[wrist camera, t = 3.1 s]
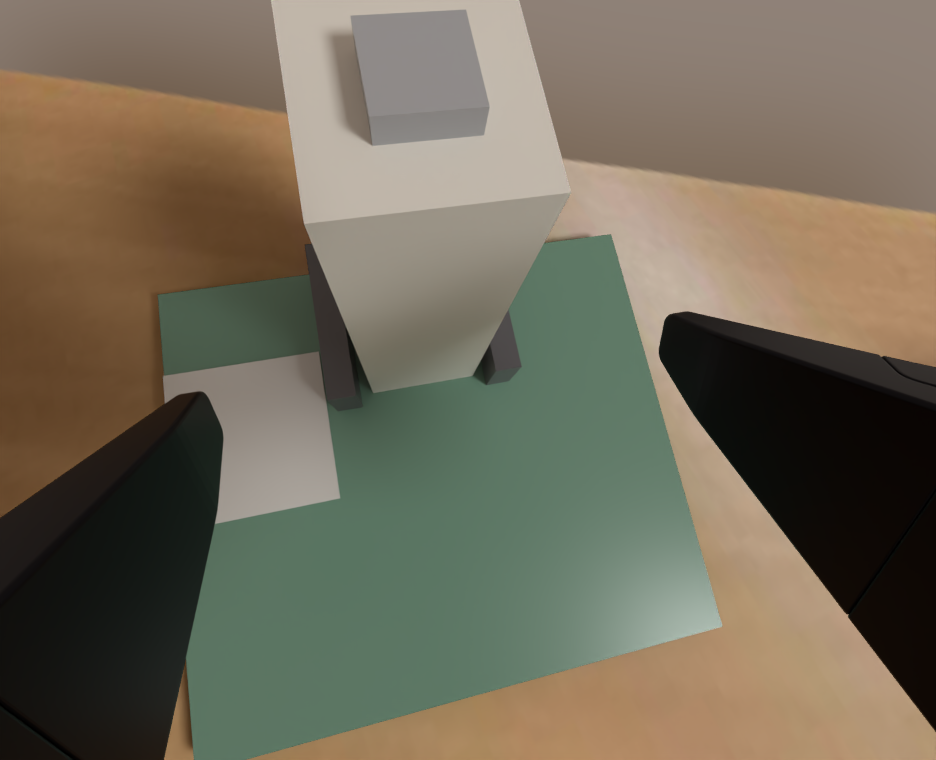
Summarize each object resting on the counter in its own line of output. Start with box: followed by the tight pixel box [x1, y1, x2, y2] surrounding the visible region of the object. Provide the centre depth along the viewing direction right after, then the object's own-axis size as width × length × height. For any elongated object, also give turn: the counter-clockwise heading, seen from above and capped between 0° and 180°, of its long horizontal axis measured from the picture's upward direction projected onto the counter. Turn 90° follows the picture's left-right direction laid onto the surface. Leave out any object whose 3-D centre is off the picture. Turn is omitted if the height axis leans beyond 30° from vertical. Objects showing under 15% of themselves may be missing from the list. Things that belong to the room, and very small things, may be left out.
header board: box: [158, 234, 723, 760], centre depth 19 cm, size 18×20×4 cm
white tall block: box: [271, 0, 571, 393], centre depth 14 cm, size 4×4×14 cm
